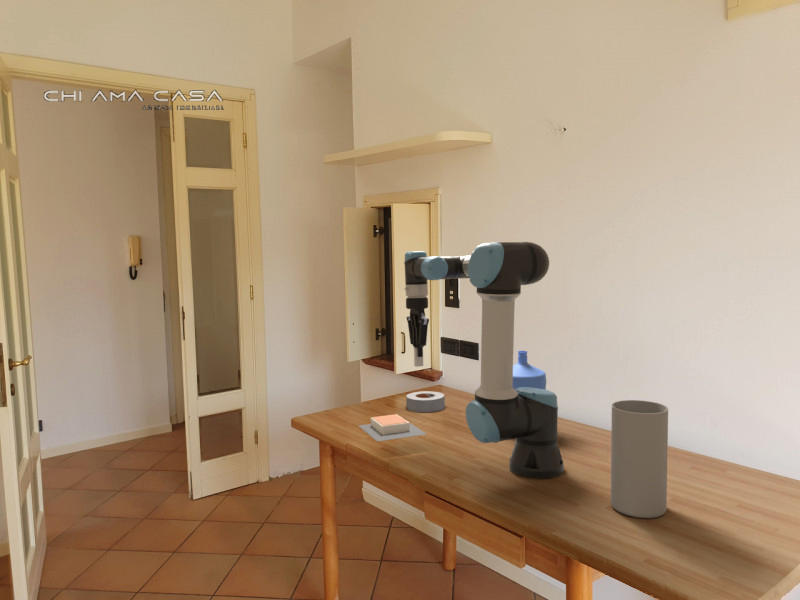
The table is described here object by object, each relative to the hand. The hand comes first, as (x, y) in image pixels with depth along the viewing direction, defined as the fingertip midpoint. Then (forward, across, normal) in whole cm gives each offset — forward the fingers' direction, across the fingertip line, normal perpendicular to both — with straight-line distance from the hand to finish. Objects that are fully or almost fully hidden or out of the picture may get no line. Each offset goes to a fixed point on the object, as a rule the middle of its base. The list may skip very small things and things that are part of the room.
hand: (418, 365), depth 208 cm
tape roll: (+23, -31, +17) cm, 42 cm away
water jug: (+24, +15, +32) cm, 43 cm away
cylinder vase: (+26, +77, +21) cm, 84 cm away
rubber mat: (+23, -8, -8) cm, 26 cm away
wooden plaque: (+21, -3, -8) cm, 23 cm away
